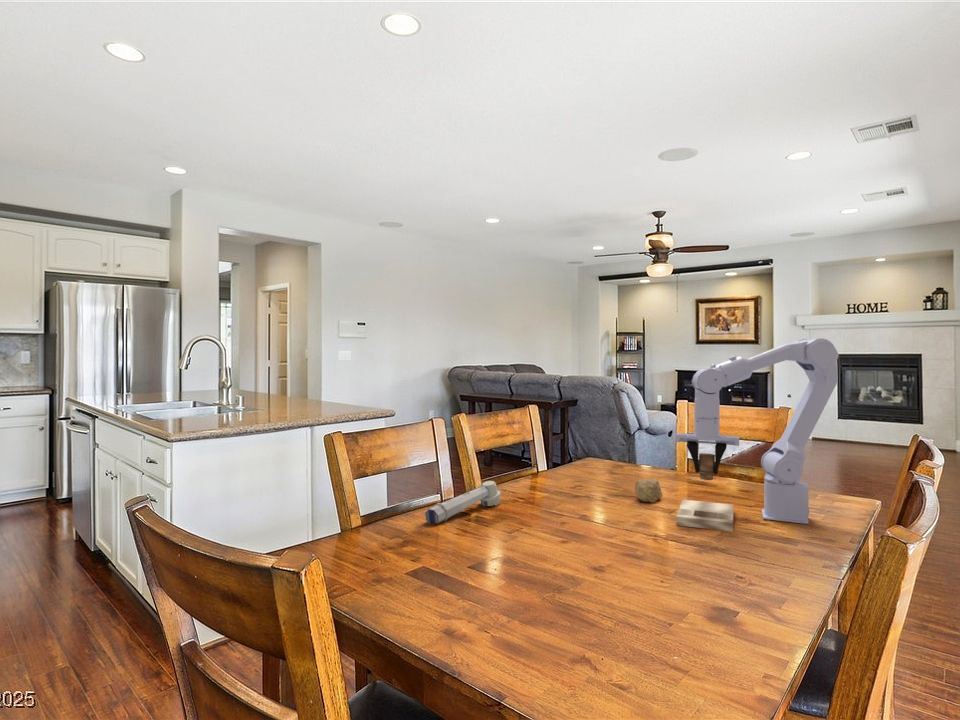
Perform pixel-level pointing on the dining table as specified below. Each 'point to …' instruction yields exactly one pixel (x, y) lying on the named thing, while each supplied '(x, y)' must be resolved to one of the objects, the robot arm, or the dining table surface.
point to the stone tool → (648, 490)
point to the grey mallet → (464, 502)
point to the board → (705, 515)
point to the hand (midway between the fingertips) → (706, 472)
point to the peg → (706, 466)
